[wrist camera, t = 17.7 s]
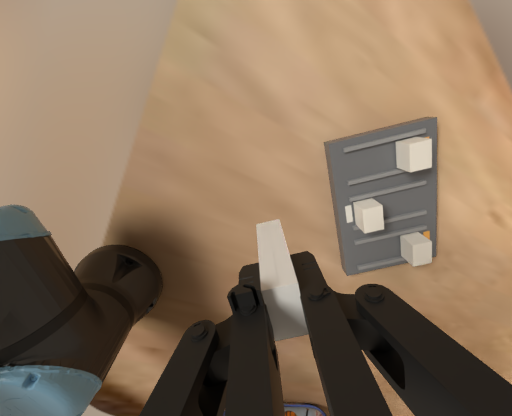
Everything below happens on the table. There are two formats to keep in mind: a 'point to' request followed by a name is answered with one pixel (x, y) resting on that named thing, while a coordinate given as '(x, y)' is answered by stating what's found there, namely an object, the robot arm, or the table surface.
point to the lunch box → (301, 410)
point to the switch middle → (369, 215)
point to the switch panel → (381, 193)
